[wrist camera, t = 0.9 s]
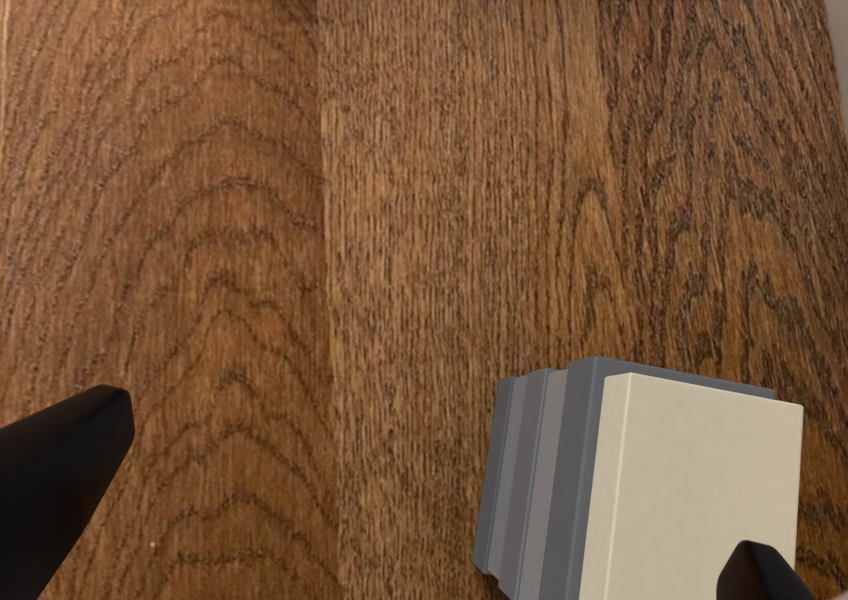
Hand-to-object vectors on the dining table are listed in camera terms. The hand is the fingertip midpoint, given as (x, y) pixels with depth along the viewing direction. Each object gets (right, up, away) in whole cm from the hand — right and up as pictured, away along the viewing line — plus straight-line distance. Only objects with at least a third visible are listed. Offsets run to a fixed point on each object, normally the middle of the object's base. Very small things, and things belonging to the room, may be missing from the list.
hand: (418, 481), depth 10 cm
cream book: (+6, -3, +7) cm, 10 cm away
